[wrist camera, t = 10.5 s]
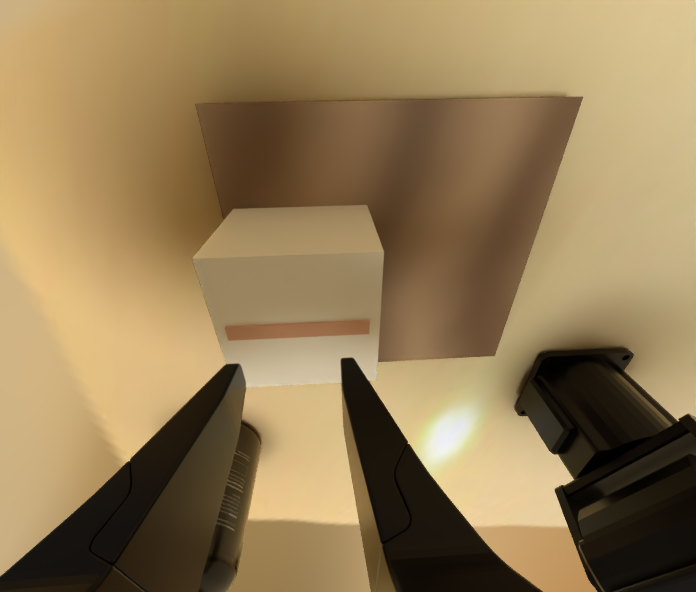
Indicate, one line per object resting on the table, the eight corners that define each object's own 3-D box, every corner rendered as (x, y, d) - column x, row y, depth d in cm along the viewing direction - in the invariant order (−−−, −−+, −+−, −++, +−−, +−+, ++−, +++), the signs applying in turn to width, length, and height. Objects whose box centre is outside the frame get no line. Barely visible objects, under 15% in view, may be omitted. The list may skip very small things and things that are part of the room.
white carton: (366, 204, 14) (384, 253, 10) (364, 311, 17) (377, 382, 13) (233, 208, 14) (190, 260, 9) (257, 316, 17) (233, 390, 13)
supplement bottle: (155, 424, 23) (25, 674, 13) (239, 405, 23) (169, 653, 13) (202, 469, 27) (128, 690, 17) (275, 453, 26) (243, 674, 16)
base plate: (566, 96, 13) (583, 96, 12) (487, 345, 21) (494, 355, 20) (204, 103, 12) (195, 104, 11) (262, 356, 20) (260, 367, 19)
